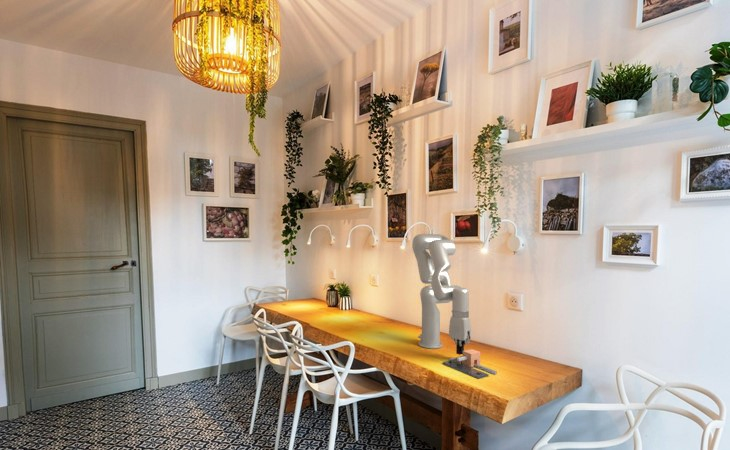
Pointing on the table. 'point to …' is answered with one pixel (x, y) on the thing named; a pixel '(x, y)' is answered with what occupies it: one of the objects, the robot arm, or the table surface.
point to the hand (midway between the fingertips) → (460, 353)
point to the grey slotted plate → (476, 366)
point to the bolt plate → (466, 369)
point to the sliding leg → (469, 358)
